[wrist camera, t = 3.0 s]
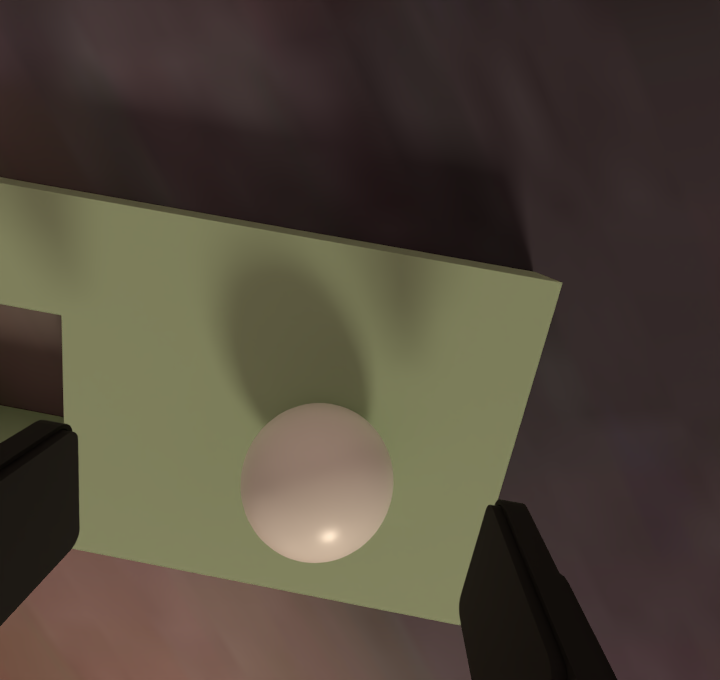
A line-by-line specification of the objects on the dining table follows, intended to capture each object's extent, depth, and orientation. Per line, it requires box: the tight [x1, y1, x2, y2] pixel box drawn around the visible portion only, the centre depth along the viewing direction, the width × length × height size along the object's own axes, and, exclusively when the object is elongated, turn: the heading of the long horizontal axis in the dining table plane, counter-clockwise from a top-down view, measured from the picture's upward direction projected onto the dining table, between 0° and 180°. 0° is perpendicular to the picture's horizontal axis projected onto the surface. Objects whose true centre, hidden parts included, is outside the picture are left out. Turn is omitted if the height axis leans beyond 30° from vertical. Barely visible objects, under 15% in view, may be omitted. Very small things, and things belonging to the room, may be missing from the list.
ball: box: [240, 403, 394, 563], centre depth 12 cm, size 4×4×4 cm
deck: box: [0, 177, 562, 625], centre depth 15 cm, size 22×12×2 cm, turn 80°
